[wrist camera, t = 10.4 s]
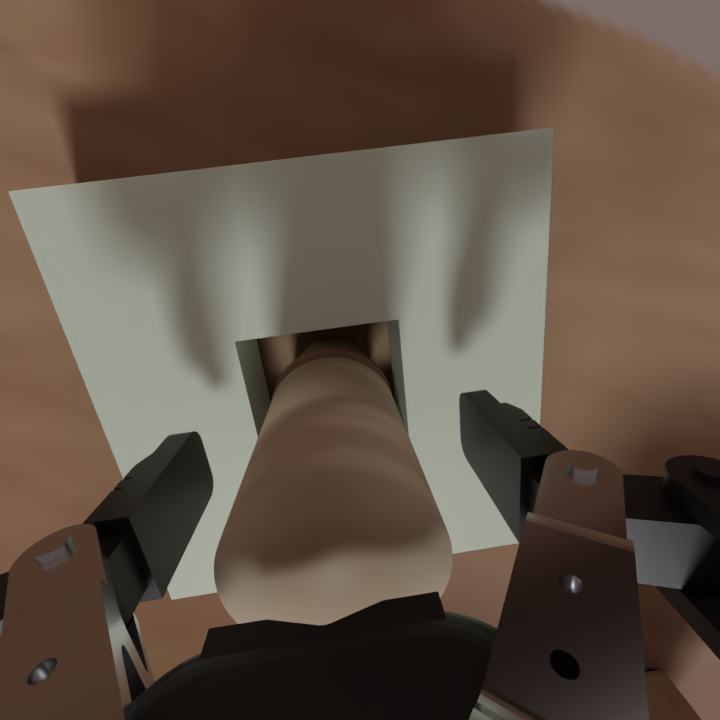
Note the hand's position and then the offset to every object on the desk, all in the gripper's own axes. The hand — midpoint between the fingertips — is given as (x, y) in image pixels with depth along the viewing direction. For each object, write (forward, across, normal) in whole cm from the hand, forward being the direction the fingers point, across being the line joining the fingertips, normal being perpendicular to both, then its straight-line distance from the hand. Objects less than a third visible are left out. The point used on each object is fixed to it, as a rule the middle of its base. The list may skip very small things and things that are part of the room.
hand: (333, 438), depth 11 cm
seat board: (+5, 0, 0) cm, 5 cm away
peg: (+5, 0, 0) cm, 5 cm away
